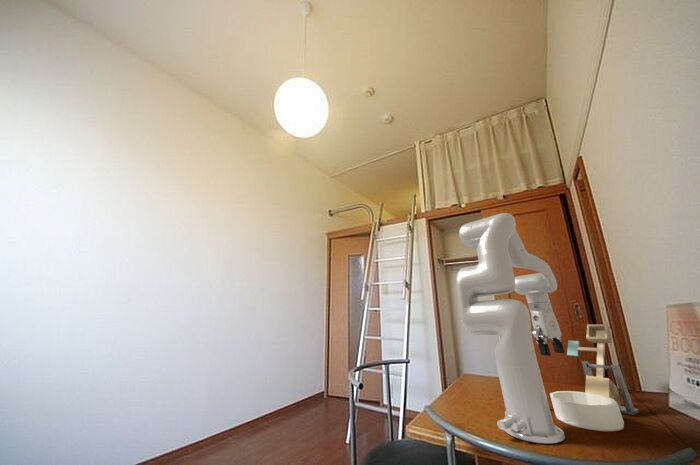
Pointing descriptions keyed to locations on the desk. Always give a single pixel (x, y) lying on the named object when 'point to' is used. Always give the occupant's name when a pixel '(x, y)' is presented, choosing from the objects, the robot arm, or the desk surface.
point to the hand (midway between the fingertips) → (553, 354)
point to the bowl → (587, 410)
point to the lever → (598, 383)
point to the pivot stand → (621, 384)
